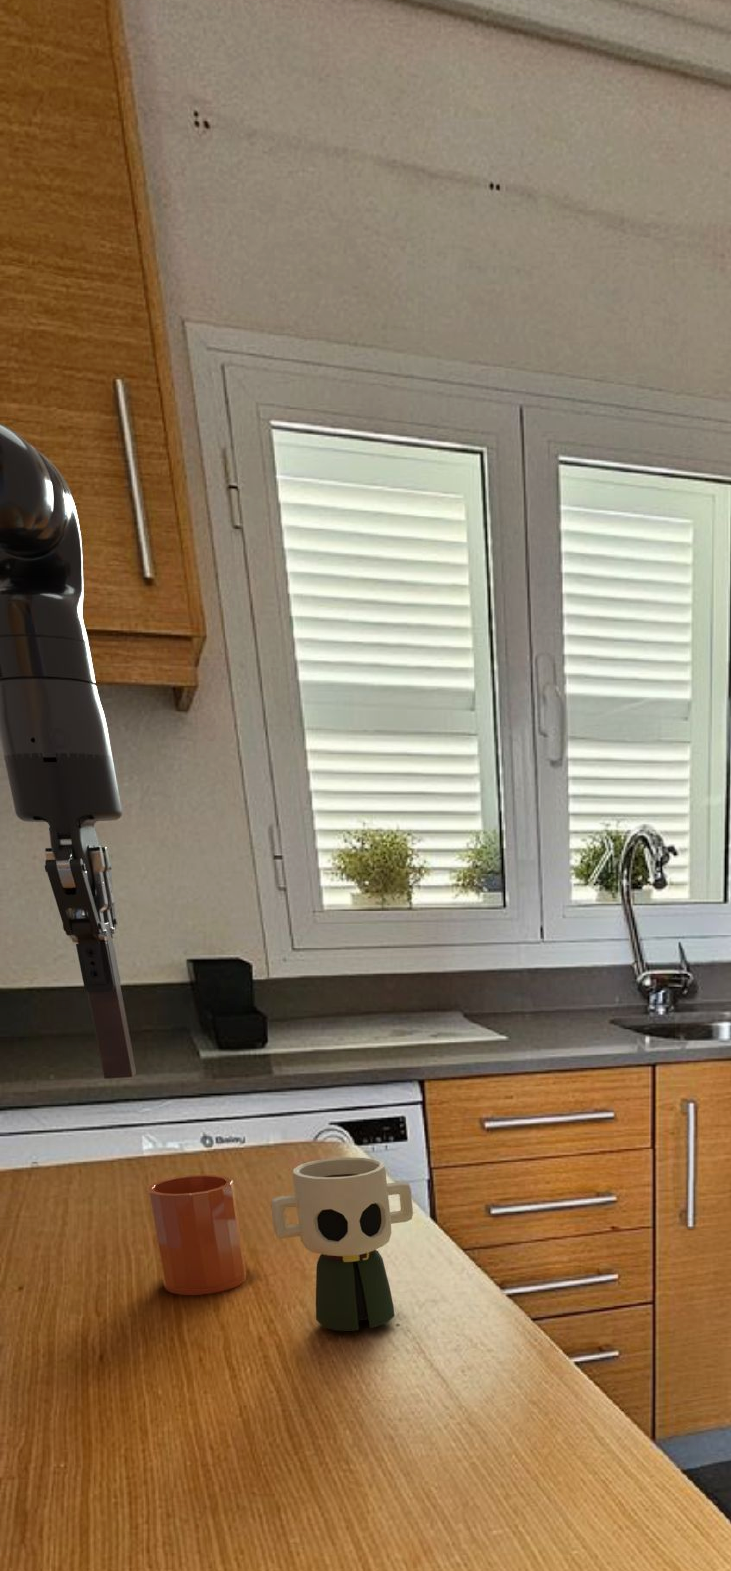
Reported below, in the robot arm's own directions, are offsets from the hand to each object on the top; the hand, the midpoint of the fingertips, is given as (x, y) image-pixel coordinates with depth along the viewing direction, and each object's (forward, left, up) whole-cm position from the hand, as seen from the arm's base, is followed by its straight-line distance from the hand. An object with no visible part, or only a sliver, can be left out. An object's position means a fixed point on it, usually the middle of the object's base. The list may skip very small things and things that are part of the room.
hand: (103, 988), depth 97 cm
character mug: (+22, -5, -26) cm, 34 cm away
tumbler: (+4, +2, -26) cm, 26 cm away
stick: (0, 0, -7) cm, 7 cm away
